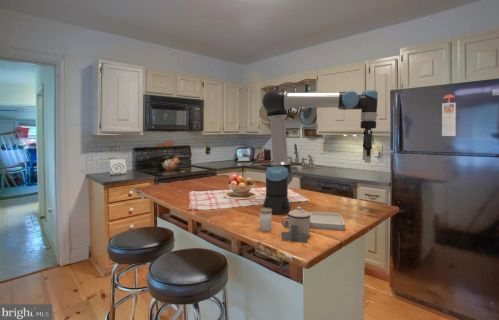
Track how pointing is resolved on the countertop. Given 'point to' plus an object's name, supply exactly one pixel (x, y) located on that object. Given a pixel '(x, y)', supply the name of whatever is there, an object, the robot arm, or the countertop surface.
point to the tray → (326, 221)
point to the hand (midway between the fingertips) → (366, 161)
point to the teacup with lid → (298, 220)
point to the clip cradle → (293, 234)
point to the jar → (265, 219)
